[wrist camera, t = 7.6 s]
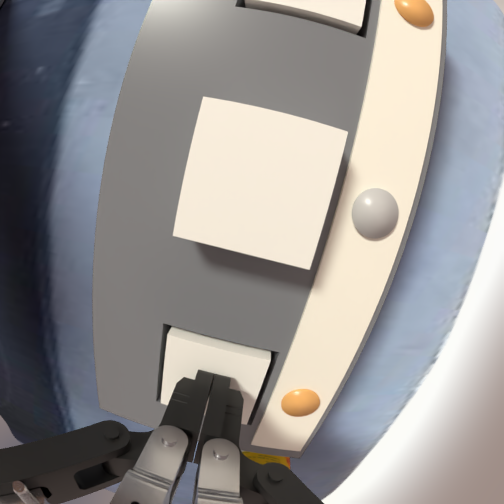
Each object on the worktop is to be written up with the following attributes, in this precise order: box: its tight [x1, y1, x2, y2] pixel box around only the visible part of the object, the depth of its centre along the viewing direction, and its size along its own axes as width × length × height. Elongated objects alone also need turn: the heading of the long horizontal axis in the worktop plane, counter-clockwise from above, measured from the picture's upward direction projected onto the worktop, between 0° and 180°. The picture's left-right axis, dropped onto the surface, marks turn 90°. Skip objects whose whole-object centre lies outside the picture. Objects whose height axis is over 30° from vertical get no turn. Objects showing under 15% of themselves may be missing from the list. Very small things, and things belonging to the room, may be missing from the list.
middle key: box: [173, 97, 348, 270], centre depth 10 cm, size 4×4×3 cm
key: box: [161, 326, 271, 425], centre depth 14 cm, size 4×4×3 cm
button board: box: [92, 0, 447, 458], centre depth 12 cm, size 28×12×5 cm, turn 166°
